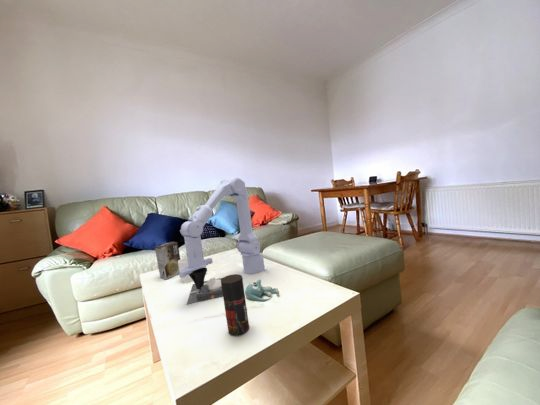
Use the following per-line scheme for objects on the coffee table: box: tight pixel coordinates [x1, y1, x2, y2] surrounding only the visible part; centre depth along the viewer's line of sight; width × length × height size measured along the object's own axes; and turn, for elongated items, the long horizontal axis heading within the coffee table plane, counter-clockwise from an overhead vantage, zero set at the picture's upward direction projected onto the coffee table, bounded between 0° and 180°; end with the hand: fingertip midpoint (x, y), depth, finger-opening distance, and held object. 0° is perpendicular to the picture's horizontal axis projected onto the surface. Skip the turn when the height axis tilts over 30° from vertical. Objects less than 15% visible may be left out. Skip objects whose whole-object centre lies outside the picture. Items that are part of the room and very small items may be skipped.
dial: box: [201, 277, 222, 293], centre depth 92 cm, size 11×8×4 cm
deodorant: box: [221, 274, 250, 337], centre depth 67 cm, size 6×6×15 cm
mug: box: [178, 256, 207, 284], centre depth 109 cm, size 12×8×10 cm
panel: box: [186, 276, 225, 306], centre depth 94 cm, size 18×18×3 cm
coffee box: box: [154, 241, 182, 281], centre depth 119 cm, size 9×6×16 cm
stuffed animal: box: [244, 279, 280, 302], centre depth 84 cm, size 11×7×12 cm
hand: (200, 288), depth 89 cm, fingers closed
